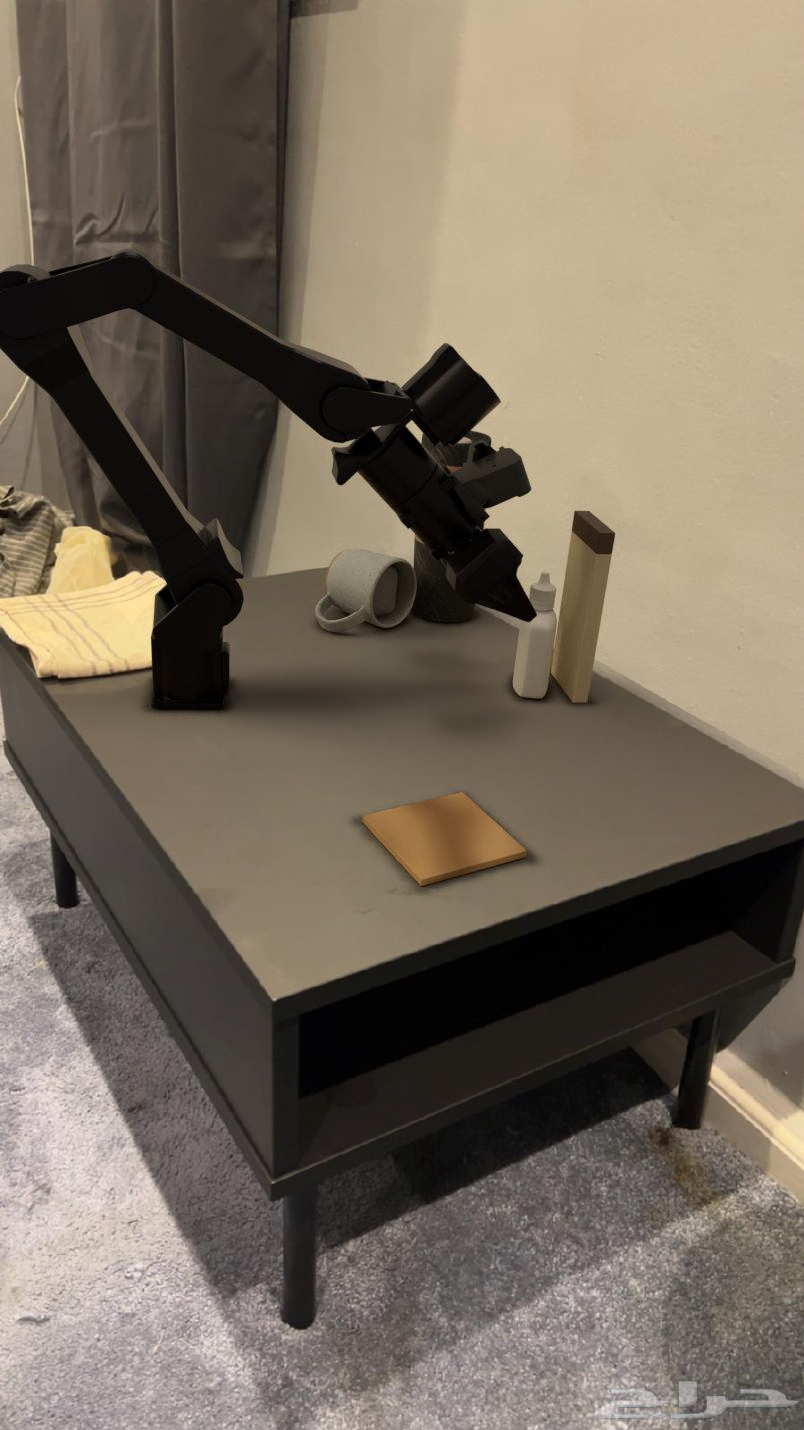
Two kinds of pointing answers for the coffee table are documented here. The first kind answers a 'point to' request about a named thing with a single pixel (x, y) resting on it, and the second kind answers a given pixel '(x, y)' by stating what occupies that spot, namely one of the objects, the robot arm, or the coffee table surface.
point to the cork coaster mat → (443, 838)
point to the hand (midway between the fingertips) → (518, 600)
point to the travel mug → (432, 585)
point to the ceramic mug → (367, 590)
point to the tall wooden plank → (582, 604)
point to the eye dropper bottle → (536, 642)
